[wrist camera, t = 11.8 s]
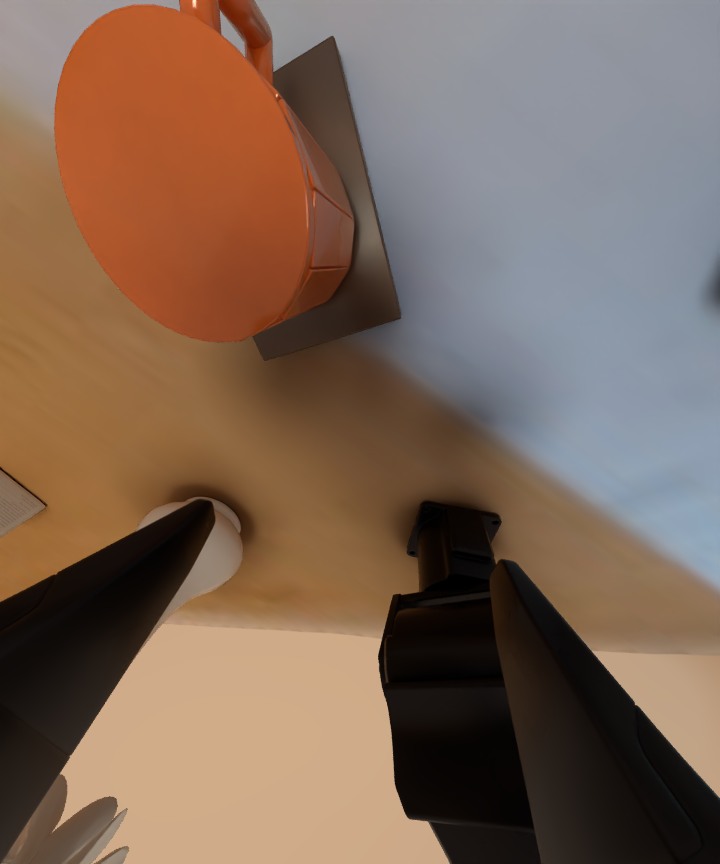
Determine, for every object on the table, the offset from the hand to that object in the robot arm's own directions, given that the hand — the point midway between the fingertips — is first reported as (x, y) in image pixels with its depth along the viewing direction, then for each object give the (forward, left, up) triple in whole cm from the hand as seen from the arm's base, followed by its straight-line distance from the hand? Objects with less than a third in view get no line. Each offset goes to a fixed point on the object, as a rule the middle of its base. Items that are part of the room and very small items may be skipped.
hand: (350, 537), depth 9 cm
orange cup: (+9, +6, -10) cm, 15 cm away
